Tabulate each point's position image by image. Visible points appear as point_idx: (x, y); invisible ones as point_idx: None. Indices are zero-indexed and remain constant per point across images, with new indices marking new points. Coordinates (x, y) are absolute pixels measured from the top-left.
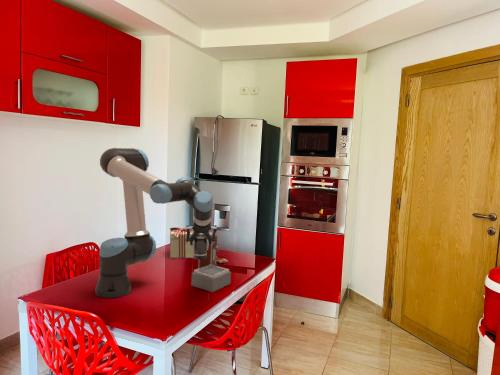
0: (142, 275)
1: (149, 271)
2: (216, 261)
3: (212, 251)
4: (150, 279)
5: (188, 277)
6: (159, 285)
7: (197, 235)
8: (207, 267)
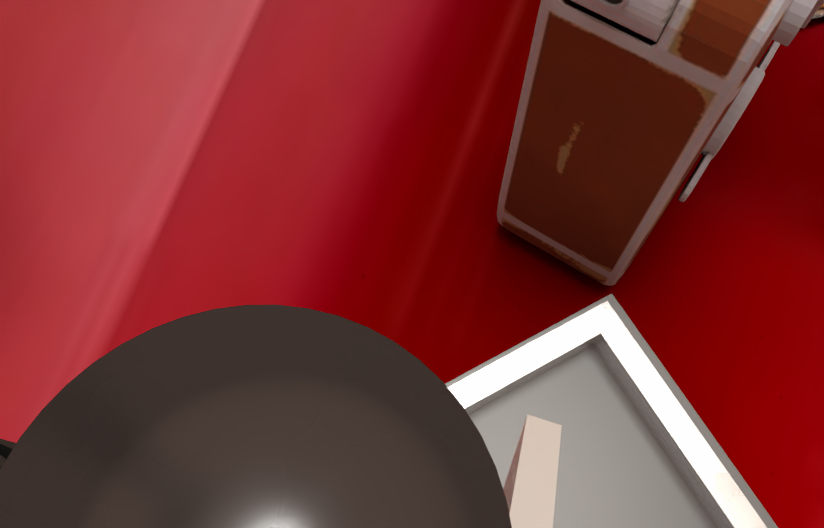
0: (17, 88)
1: (112, 22)
2: None
3: (707, 142)
4: (34, 196)
5: (379, 261)
6: (39, 367)
7: None
8: (551, 364)
